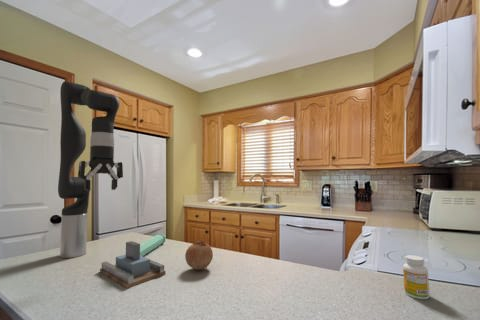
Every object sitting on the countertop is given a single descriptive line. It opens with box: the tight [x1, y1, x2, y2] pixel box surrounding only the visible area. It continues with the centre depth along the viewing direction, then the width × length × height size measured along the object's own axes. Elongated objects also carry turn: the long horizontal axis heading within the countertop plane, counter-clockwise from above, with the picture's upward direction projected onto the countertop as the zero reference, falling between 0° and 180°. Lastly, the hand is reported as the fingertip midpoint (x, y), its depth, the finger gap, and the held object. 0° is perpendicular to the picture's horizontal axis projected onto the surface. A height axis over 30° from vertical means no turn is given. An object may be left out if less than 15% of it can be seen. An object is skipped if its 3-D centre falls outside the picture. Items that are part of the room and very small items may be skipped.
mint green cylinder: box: [139, 232, 166, 257], centre depth 106 cm, size 6×6×25 cm
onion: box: [184, 240, 214, 271], centre depth 84 cm, size 10×9×10 cm
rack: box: [99, 259, 167, 289], centre depth 82 cm, size 20×13×3 cm, turn 50°
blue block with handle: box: [115, 240, 151, 277], centre depth 82 cm, size 12×6×9 cm, turn 50°
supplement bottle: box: [402, 254, 431, 300], centre depth 64 cm, size 5×5×10 cm
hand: (101, 190), depth 87 cm, fingers open, 8 cm apart
